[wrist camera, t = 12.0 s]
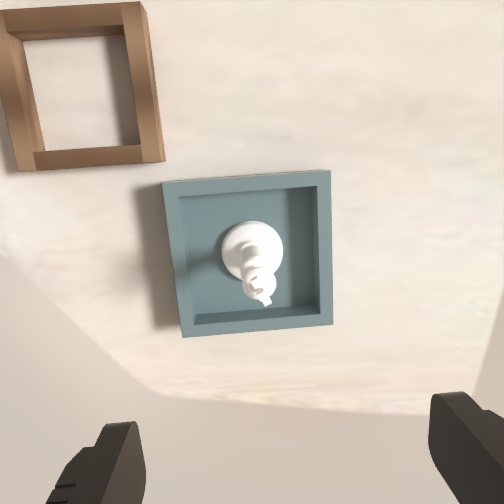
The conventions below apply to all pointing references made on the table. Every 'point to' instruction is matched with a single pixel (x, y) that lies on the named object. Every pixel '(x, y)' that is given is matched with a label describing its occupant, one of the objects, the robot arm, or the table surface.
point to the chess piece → (253, 258)
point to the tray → (216, 228)
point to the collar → (68, 26)
